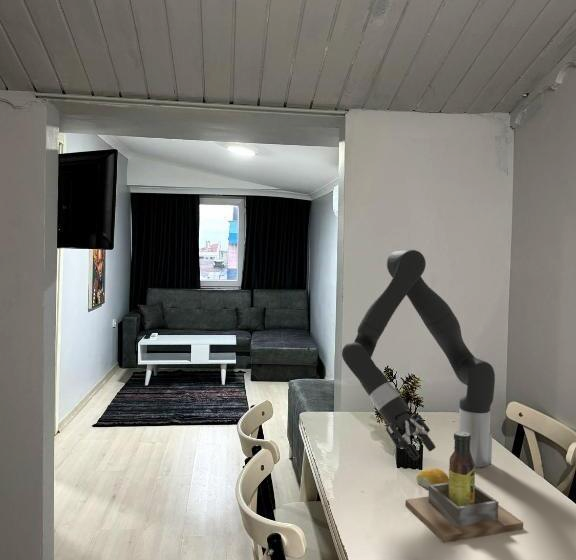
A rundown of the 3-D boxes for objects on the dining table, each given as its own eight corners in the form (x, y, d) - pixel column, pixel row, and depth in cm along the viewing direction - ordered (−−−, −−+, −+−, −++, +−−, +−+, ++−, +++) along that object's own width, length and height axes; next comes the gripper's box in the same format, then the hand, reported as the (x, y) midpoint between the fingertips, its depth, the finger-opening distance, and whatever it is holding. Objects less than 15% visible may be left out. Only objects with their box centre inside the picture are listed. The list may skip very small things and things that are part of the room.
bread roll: (454, 484, 148) (454, 471, 148) (433, 492, 143) (434, 478, 143) (431, 474, 155) (431, 461, 155) (411, 481, 150) (411, 468, 150)
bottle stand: (476, 494, 142) (476, 473, 142) (523, 528, 125) (524, 504, 124) (405, 505, 136) (405, 483, 135) (444, 542, 118) (445, 517, 118)
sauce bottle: (475, 518, 126) (478, 439, 125) (449, 515, 128) (451, 437, 126) (471, 505, 133) (473, 430, 131) (446, 503, 134) (448, 428, 133)
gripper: (383, 400, 137) (421, 454, 129) (410, 390, 147) (447, 439, 140) (366, 415, 141) (402, 469, 133) (394, 404, 151) (428, 453, 144)
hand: (425, 454), depth 137 cm, fingers open, 8 cm apart
